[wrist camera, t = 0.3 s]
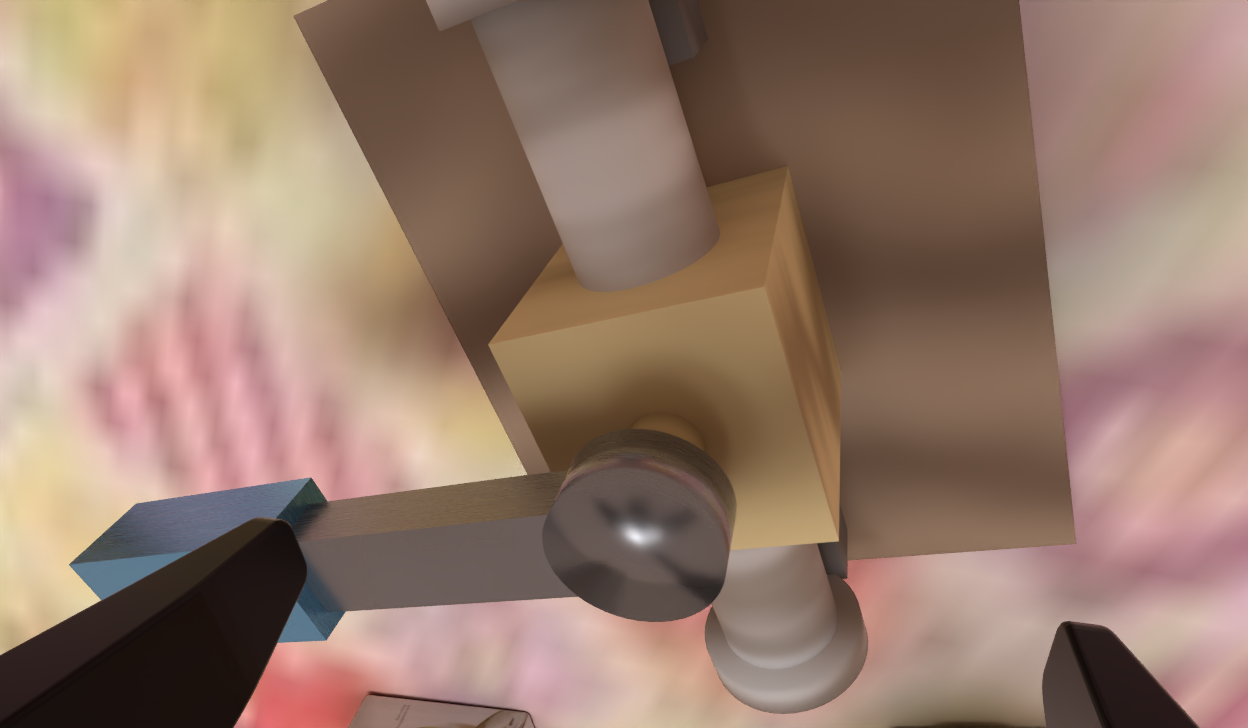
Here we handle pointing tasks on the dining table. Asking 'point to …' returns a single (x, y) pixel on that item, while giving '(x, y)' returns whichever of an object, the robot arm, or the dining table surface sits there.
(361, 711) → the coffee box
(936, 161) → the valve board
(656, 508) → the lever
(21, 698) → the robot arm
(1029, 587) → the dining table surface
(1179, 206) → the dining table surface
